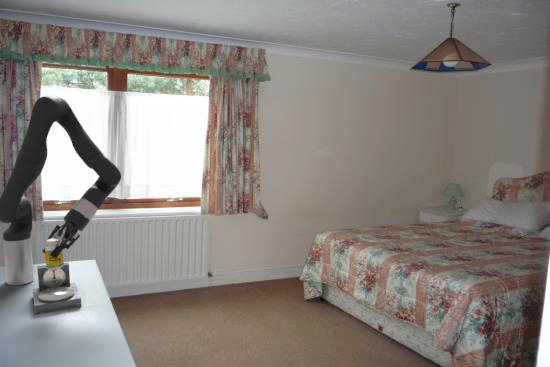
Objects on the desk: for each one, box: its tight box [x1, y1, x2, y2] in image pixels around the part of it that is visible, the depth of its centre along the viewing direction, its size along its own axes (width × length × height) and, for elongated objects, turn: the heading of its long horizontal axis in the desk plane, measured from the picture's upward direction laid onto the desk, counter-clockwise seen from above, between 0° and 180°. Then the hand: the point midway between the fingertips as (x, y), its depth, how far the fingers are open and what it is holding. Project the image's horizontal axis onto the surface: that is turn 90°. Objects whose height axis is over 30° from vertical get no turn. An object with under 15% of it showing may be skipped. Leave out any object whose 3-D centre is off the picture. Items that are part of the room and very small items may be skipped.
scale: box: [32, 261, 82, 315], centre depth 163 cm, size 17×14×11 cm
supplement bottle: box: [44, 238, 65, 270], centre depth 159 cm, size 5×5×10 cm
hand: (48, 255), depth 158 cm, fingers closed on supplement bottle, 5 cm apart
